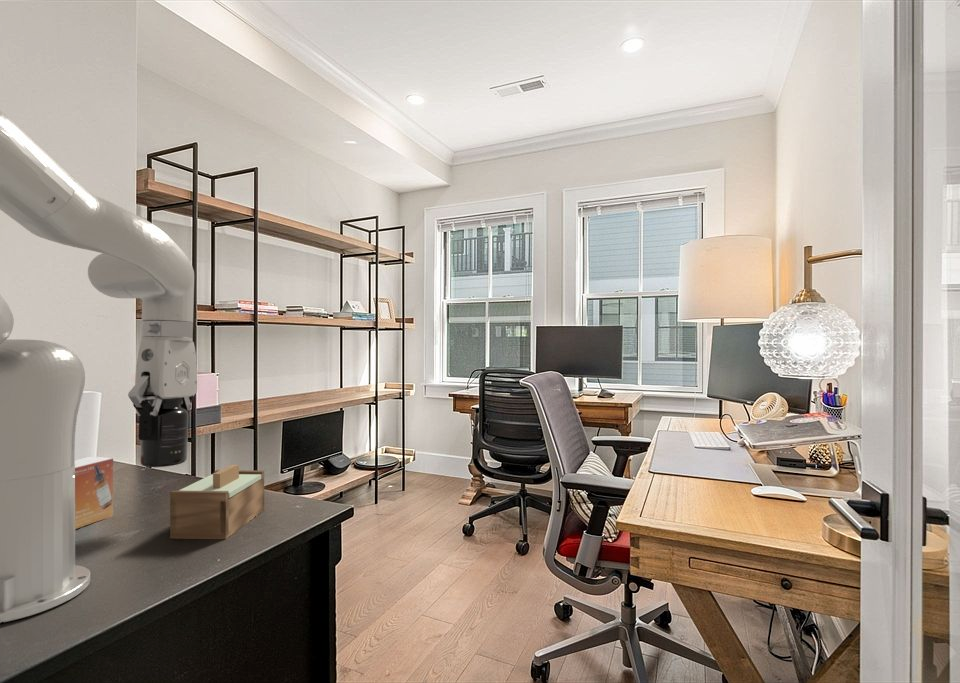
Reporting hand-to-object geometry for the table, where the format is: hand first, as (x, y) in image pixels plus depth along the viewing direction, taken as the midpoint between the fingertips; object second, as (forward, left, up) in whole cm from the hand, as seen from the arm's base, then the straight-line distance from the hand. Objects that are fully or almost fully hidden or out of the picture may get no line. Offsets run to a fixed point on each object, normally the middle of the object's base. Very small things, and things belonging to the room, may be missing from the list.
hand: (164, 435), depth 84 cm
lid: (0, -10, -9) cm, 13 cm away
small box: (0, +15, -15) cm, 21 cm away
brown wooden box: (0, -10, -15) cm, 18 cm away
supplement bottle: (0, 0, -5) cm, 5 cm away
